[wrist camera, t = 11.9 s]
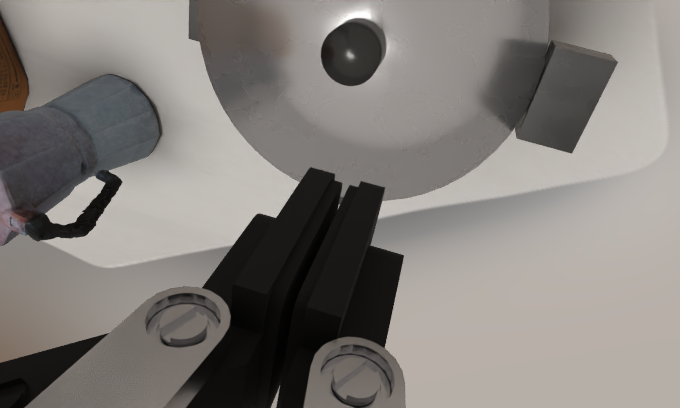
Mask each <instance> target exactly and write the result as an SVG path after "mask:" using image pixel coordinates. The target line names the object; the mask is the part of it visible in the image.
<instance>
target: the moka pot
mask: <svg viewBox="0 0 680 408" xmlns="http://www.w3.org/2000/svg"><path fill="white" fill-rule="evenodd" d="M159 136H160V133H159V126H158V121H157V118H156V115H155V113H154V111H153V109H152V106H151V104H150V102H149V101H148V100H147V98H146V97H145V96H144V95H143V94H142V92H141V91H140V90H139V89H138V88H137V87H136V86H135V85H133V84H132V83H131V82H129V81H127V80H125V79H122V78H120V77H117V76H115V75H103V76H101V77H98V78H95V79H93V80H91V81H88V82H86V83H84V84H82V85H81V86H79V87H77V88H75V89H73V90H71V91H70V92H68V93H66V94H64V95H62V96H60V97H58V98H56V99H54V100H52V101H51V102H49V103H47V104H45V105H43V106H41V107H36V108H33V109H30V110H27V111H6V112H2V113H0V246H3V245H5V244H7V243H8V242H9V241H10V240H12V239H13V238H14V237H16V236H17V235H18V234H22V235H29V236H30V237H31V238H33V239H34V240H36V241H40V240H48V239H54V238H56V237H60V238H73V237H76V238H77V237H83V236H86V235H87V234H88V233H89V232H90V231H91V230H92V229H93V228H94V226H96V221H97V220H98V218H99V217H100V216H101V214H103V212H104V209H105V208H106V207H107V205H108V204H109V203H110V201H111V198H112V197H113V196H114V195H115V194H116V192H117V191H118V189H119V187H120V185H121V184H122V181H121V179H120V178H119V177H117V176H116V175H114V174H112V173H110V172H109V170H111V169H114V168H117V167H120V166H123V165H126V164H128V163H131V162H134V161H137V160H139V159H142V158H145V157H147V156H149V155H150V153H151V152H152V151H153V149H154V147H155V145H156V143H157V141H158V139H159ZM92 176H96V178H97V179H99V180H101V181H103V182H105V185H104V187H103V189H102V190H101V193H100V194H98V195H97V197H96V198H95V199H93V201H92V202H91V203H90V205H89V206H88V207H87V208H86V209H85V210H83V211H82V212H84V213H83V214H81V215H80V216H79V217H78V218H77V221H76V222H75V223H70V224H67V225H60V224H57V223H56V224H53V223H51V222H50V220H49V218H48V217H47V215H46V214H45V213H46V212H48V211H49V210H50V209H51V208H53V207H54V206H55V205H57V204H58V203H59V202H61V201H62V200H63V199H64V198H66V197H67V196H68V195H70V193H71V192H72V190H73V189H74V187H75V186H77V185H78V184H80V183H82V182H83V181H85V180H86V179H88V178H89V177H92Z"/></svg>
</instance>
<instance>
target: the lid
mask: <svg viewBox="0 0 680 408" xmlns="http://www.w3.org/2000/svg"><path fill="white" fill-rule="evenodd" d="M197 8H198V30H199V37H200V44H201V50H202V54H203V58H204V62H205V66H206V70H207V73H208V75H209V78H210V81H211V83H212V86H213V89H214V91H215V93H216V95H217V97H218V99H219V101H220V103H221V105H222V107H223V109H224V110H225V112H226V114H227V115H228V117H229V118H230V120H231V121H232V123H233V124H234V126H235V127H236V128H237V130H238V131H239V132H240V133H241V135H242V136H243V137H244V138H245V140H246V141H247V142H248V143H249V144H250V145H251V146H252V147H253V148H254V149H255V150H256V151H257V152H258V153H259V154H260V155H261V156H262V157H263V158H265V159H266V160H267V161H268V162H270V163H271V164H272V165H273V166H275V167H276V168H277V169H279V170H280V171H282V172H283V173H285V174H287V175H288V176H290V177H291V178H293V179H295V180H297V181H299V182H300V181H301V180H302V178H303V177H304V175H305V174H306V172H307V171H308V169H309V168H310V167H312V168H316V169H320V170H323V171H327V172H330V173H334V174H335V181H338V182H342V191H341V195H340V197H344V195H345V193H346V191H347V189H348V187H349V185H353V186H356V187H358V186H359V184H360V182H361V181H363V182H367V183H370V184H374V185H378V186H381V187H385V192H384V196H383V200H382V201H386V200H395V199H404V198H408V197H413V196H417V195H421V194H425V193H428V192H430V191H433V190H436V189H438V188H441V187H444V186H446V185H447V184H449V183H451V182H453V181H455V180H457V179H459V178H461V177H463V176H464V175H466V174H467V173H468V172H470V171H471V170H473V169H474V168H476V167H477V166H479V165H480V164H481V163H482V162H483V161H484V160H486V159H487V158H488V157H489V156H490V155H491V154H492V153H493V152H495V151H496V150H497V148H498V147H499V146H500V145H501V144H502V143H503V142H504V140H505V139H506V138H507V137H508V136H509V135H510V134H511V132H512V131H513V129H514V128H515V132H516V137H517V139H521V140H525V141H528V142H532V143H536V144H539V145H543V146H547V147H550V148H554V149H558V150H561V151H565V152H569V153H572V152H573V150H574V148H575V146H576V144H577V142H578V140H579V138H580V136H581V134H582V133H583V131H584V129H585V127H586V125H587V123H588V121H589V119H590V117H591V115H592V113H593V111H594V109H595V107H596V105H597V103H598V101H599V99H600V97H601V95H602V93H603V91H604V89H605V87H606V85H607V83H608V81H609V79H610V77H611V75H612V73H613V71H614V69H615V67H616V65H617V63H618V62H617V61H616V60H615V59H614V58H613V57H612V56H611V55H610V54H606V53H602V52H598V51H594V50H590V49H586V48H582V47H578V46H574V45H570V44H566V43H562V42H558V41H554V40H551V43H550V45H549V47H548V50H547V46H548V36H549V23H550V10H549V0H198V3H197ZM546 51H547V52H546Z"/></svg>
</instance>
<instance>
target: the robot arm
mask: <svg viewBox="0 0 680 408" xmlns="http://www.w3.org/2000/svg"><path fill="white" fill-rule="evenodd" d="M341 191H342V182H338V181H335V174H334V173H330V172H327V171H323V170H320V169H316V168H312V167H310V168H309V169H308V171H307V172H306V174H305V175H304V177H303V178H302V180H301V181H300V183H299V184H298V186H297V187H296V189H295V190H294V192H293V193H292V195H291V196H290V198H289V199H288V201H287V203H286V204H285V206H284V207H283V209H282V210H281V212H280V213H279V215H278V216H277V218H274V217H270V216H267V215H263V214H257V215H256V216H255V217H254V218H253V219H252V221H251V222H250V223H249V225H248V226H247V227H246V229H245V230H244V232H243V233H242V234H241V236H240V237H239V238H238V240H237V241H236V242H235V244H234V245H233V246H232V248H231V249H230V251H229V252H228V253H227V255H226V256H225V257H224V259H223V260H222V261H221V263H220V264H219V266H218V267H217V268H216V270H215V271H214V273H213V274H212V275H211V276H210V278H209V279H208V281H207V282H206V283H205V285H204V286H203V287H202V288H199V287H188V286H187V287H186V286H183V287H176V288H170V289H167V290H165V291H162V292H159V293H157V294H155V295H154V296H153V297H151V298H149V299H148V300H146V301H145V302H144V303H143V304H142V305H141V306H140V307H138V308H137V309H136V310H135V311H134V312H133V313H132V314H131V315H130V316H128V317H127V318H126V319H125V320H124V321H122V323H120V324H119V325H118V326H117V327H116V328H115V329H113V330H112V331H111V332H110V333H108V334H104V335H100V336H97V337H93V338H89V339H86V340H82V341H78V342H75V343H71V344H68V345H64V346H60V347H57V348H53V349H49V350H46V351H42V352H38V353H35V354H32V355H28V356H24V357H20V358H17V359H13V360H9V361H6V362H2V363H0V408H271V405H272V403H273V400H274V398H275V396H276V393H277V391H278V389H279V386H280V389H279V396H278V401H277V407H276V408H406V406H405V382H404V377H403V372H402V369H401V368H400V366H399V364H398V362H397V361H396V359H395V358H394V357H393V356H392V355H391V354H390V353H389V352H388V351H387V350H386V349H385V344H386V339H387V334H388V329H389V325H390V320H391V315H392V310H393V305H394V301H395V296H396V291H397V287H398V282H399V277H400V272H401V267H402V263H403V257H404V255H401V254H398V253H394V252H391V251H387V250H384V249H380V248H377V247H374V246H370V244H371V241H372V237H373V234H374V229H375V226H376V222H377V218H378V215H379V211H380V207H381V203H382V200H383V196H384V192H385V187H381V186H378V185H374V184H370V183H367V182H363V181H361V182H360V184H359V186H358V187H356V186H353V185H349V187H348V189H347V191H346V193H345V195H344V198H343V200H342V202H341V204H340V206H339V208H338V205H339V200H340V195H341Z"/></svg>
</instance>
